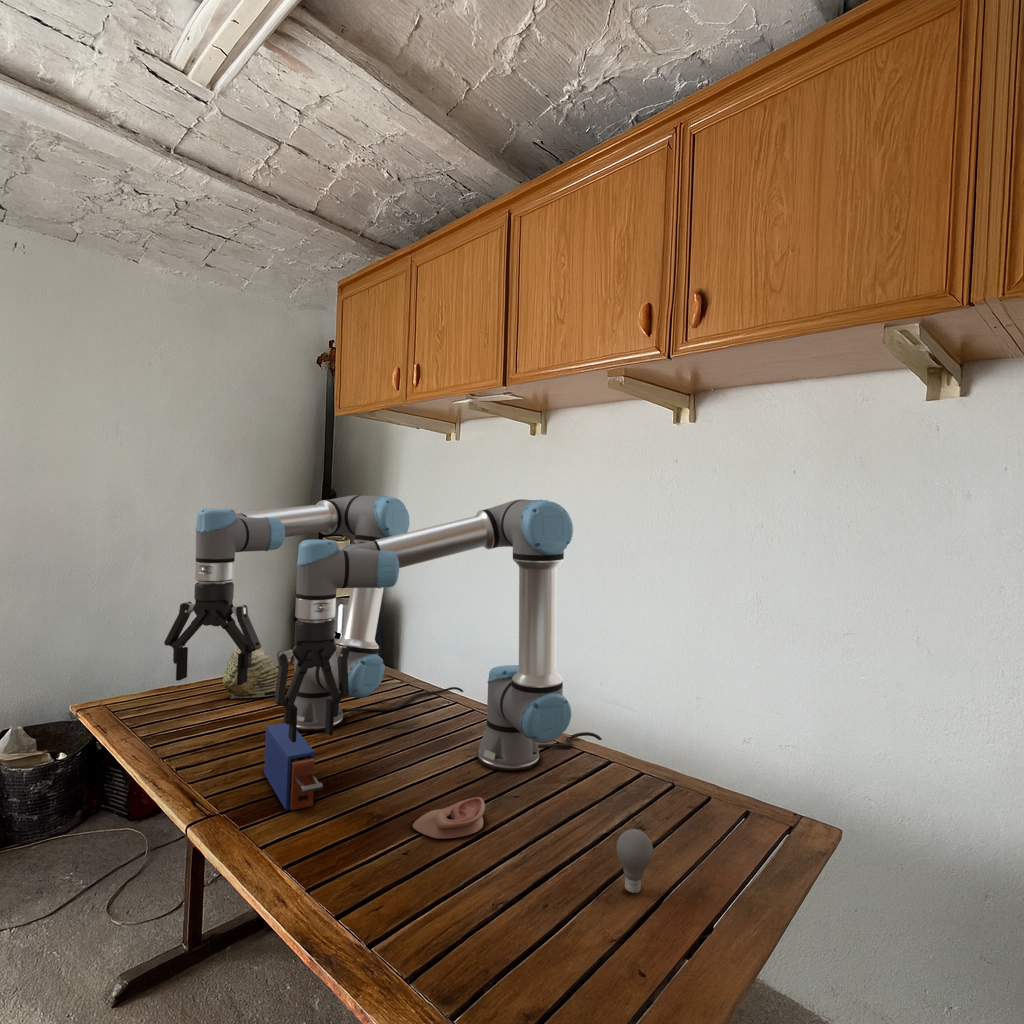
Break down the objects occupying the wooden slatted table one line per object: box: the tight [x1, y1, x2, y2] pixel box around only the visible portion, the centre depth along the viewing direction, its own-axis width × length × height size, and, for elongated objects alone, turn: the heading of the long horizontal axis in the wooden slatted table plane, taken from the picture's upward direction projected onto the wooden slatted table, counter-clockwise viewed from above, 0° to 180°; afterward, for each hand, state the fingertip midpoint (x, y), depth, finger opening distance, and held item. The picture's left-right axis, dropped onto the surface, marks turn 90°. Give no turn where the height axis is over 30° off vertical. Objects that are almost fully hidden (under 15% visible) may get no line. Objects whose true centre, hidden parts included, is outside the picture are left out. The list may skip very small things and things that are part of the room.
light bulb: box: [615, 828, 654, 894], centre depth 106 cm, size 6×6×10 cm
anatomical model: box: [412, 796, 486, 840], centre depth 124 cm, size 13×4×12 cm
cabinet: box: [263, 722, 316, 811], centre depth 137 cm, size 19×5×11 cm, turn 34°
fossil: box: [222, 647, 288, 699], centre depth 198 cm, size 9×18×15 cm, turn 132°
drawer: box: [290, 756, 323, 811], centre depth 132 cm, size 24×4×9 cm, turn 34°
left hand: (211, 681), depth 134 cm, fingers open, 13 cm apart
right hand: (310, 736), depth 124 cm, fingers open, 6 cm apart
